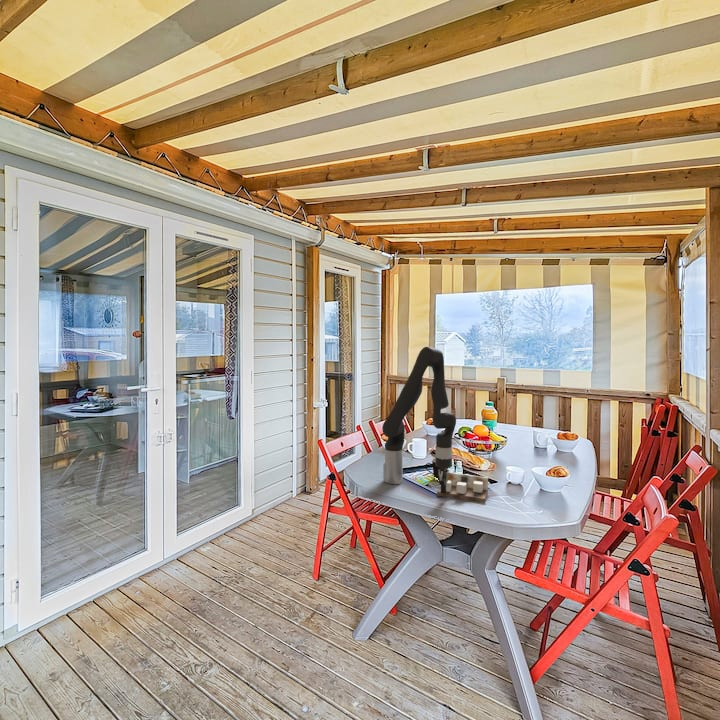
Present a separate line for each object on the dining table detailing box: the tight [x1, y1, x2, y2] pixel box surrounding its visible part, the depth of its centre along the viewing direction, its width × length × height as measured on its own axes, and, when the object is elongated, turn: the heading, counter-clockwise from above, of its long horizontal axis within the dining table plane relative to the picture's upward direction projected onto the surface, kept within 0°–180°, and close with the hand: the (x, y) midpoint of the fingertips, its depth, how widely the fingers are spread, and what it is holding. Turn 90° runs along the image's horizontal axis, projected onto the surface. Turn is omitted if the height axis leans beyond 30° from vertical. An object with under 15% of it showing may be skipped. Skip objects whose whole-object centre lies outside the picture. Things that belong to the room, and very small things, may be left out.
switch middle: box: [456, 482, 467, 494], centre depth 195 cm, size 4×4×4 cm
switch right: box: [473, 481, 483, 493], centre depth 197 cm, size 4×4×4 cm
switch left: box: [446, 480, 452, 492], centre depth 198 cm, size 4×4×4 cm
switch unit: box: [436, 471, 489, 504], centre depth 198 cm, size 22×12×8 cm, turn 67°
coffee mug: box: [424, 457, 440, 478], centre depth 220 cm, size 12×9×10 cm
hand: (443, 492), depth 191 cm, fingers closed
